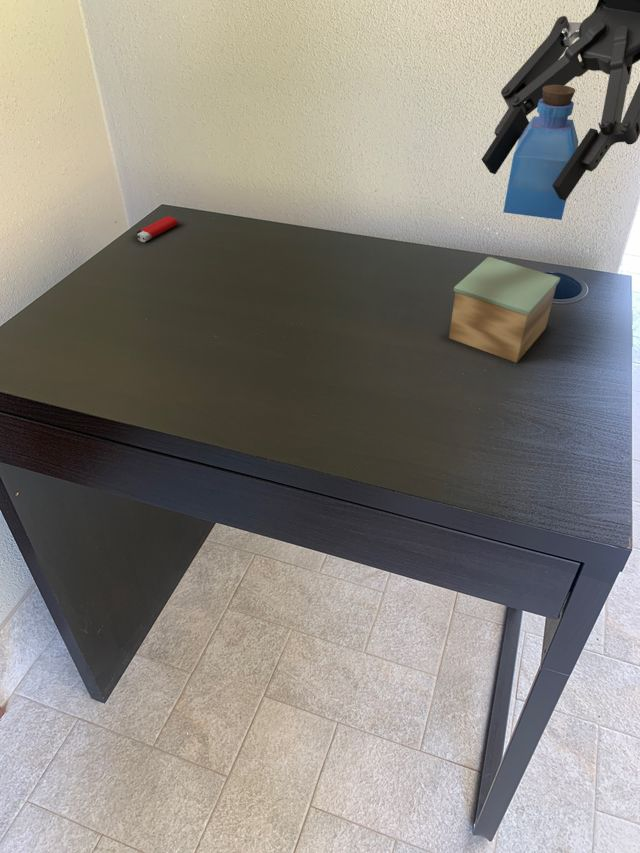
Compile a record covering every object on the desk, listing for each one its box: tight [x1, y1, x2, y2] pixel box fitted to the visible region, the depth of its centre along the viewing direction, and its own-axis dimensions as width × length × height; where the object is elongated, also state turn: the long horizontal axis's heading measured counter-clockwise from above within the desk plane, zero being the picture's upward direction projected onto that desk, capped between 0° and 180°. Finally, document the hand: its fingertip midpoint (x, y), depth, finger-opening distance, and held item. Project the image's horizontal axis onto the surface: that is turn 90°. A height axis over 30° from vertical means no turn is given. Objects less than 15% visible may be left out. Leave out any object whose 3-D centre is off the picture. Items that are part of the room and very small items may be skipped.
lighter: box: [136, 215, 179, 243], centre depth 119 cm, size 3×1×8 cm
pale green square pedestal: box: [448, 256, 561, 364], centre depth 92 cm, size 10×10×8 cm
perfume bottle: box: [502, 85, 579, 221], centre depth 72 cm, size 6×6×12 cm
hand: (522, 179), depth 72 cm, fingers closed on perfume bottle, 8 cm apart
